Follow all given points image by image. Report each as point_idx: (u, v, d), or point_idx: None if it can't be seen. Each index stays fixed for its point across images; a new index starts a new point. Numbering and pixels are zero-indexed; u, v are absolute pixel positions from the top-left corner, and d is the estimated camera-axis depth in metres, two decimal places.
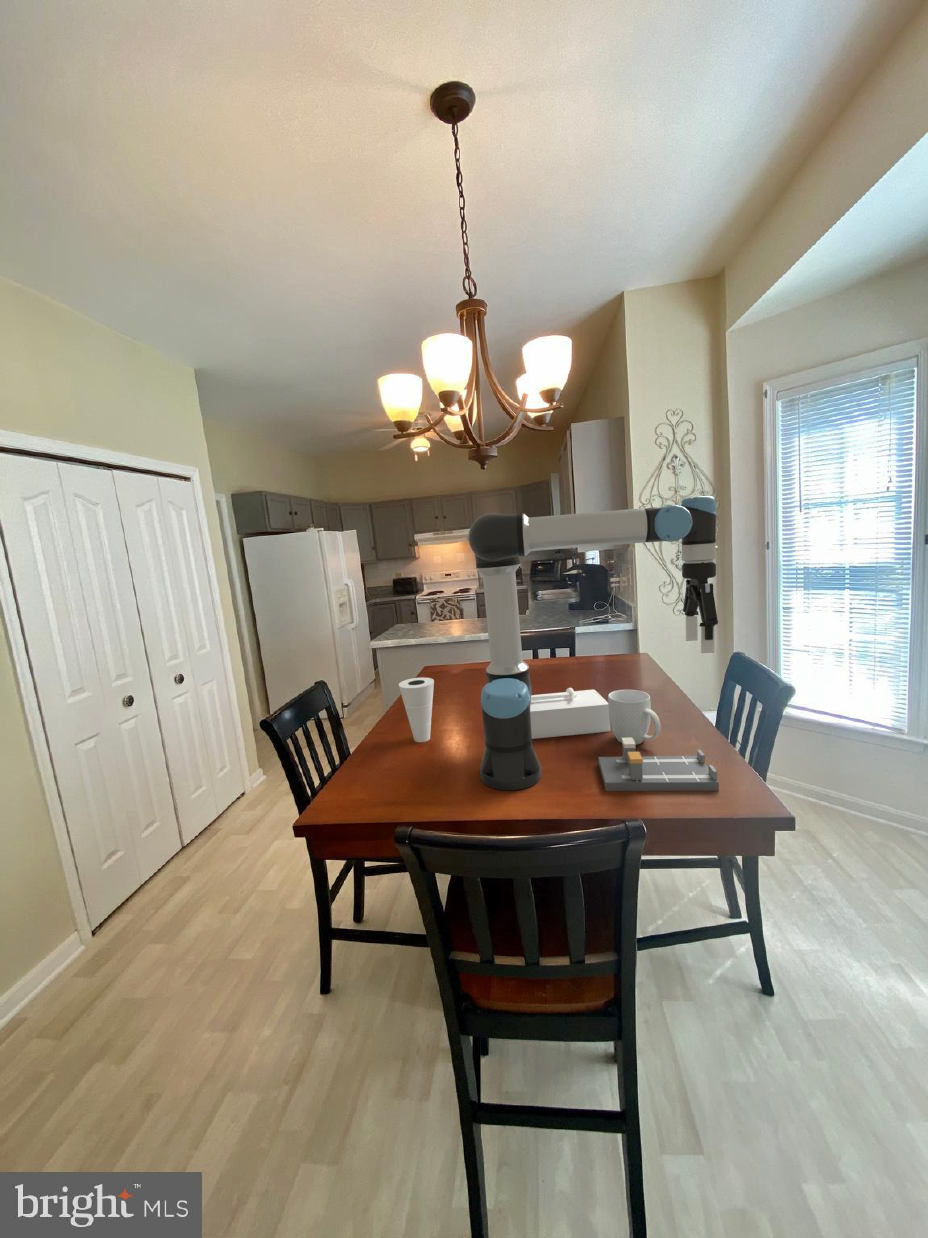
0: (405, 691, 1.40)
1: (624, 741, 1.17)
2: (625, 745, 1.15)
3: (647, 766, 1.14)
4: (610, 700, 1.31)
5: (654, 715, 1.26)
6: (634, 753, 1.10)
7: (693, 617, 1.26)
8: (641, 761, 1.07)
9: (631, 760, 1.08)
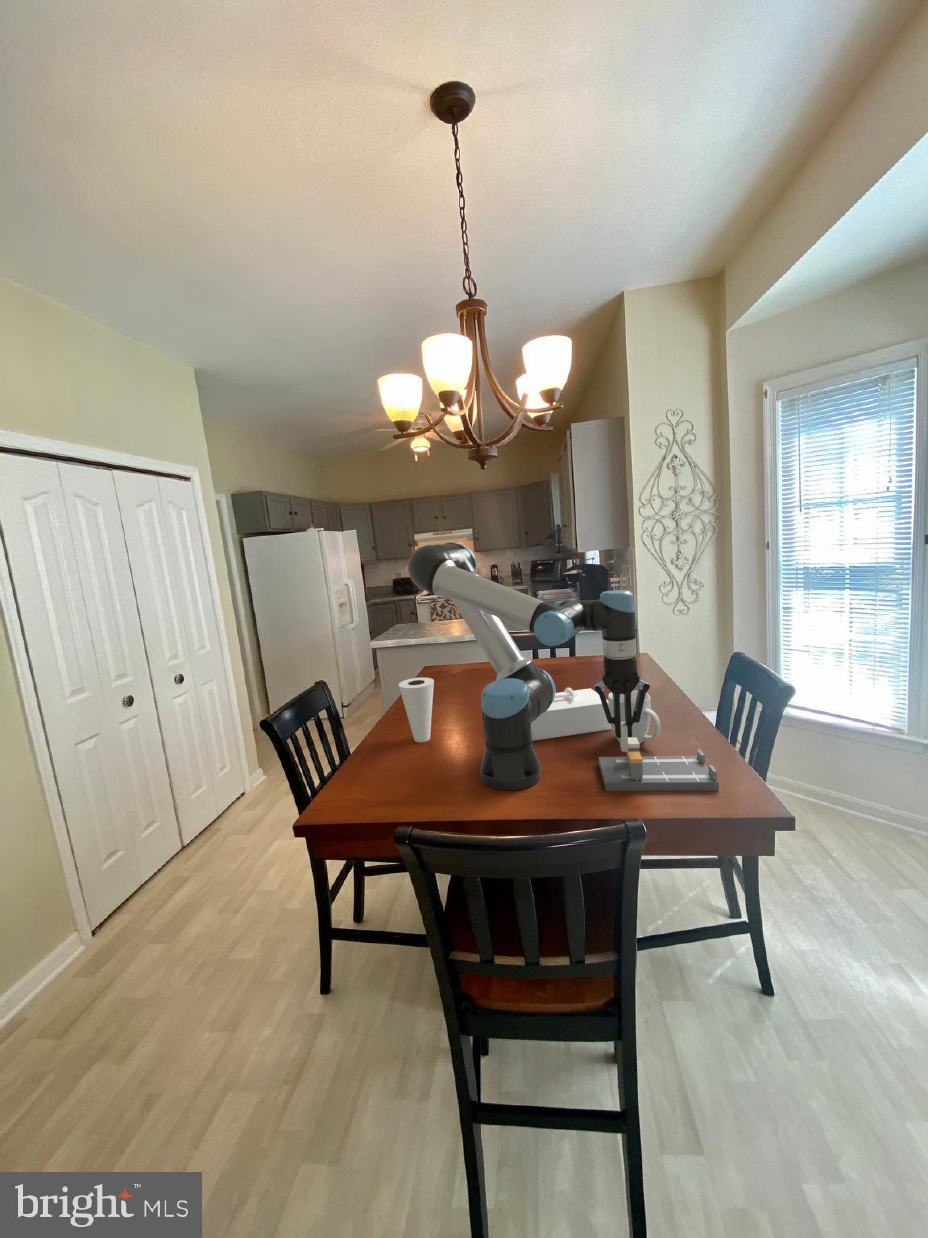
0: (405, 691, 1.40)
1: (628, 741, 1.17)
2: (629, 745, 1.15)
3: (647, 766, 1.14)
4: (610, 700, 1.31)
5: (654, 715, 1.26)
6: (634, 753, 1.10)
7: None
8: (641, 761, 1.07)
9: (631, 760, 1.08)
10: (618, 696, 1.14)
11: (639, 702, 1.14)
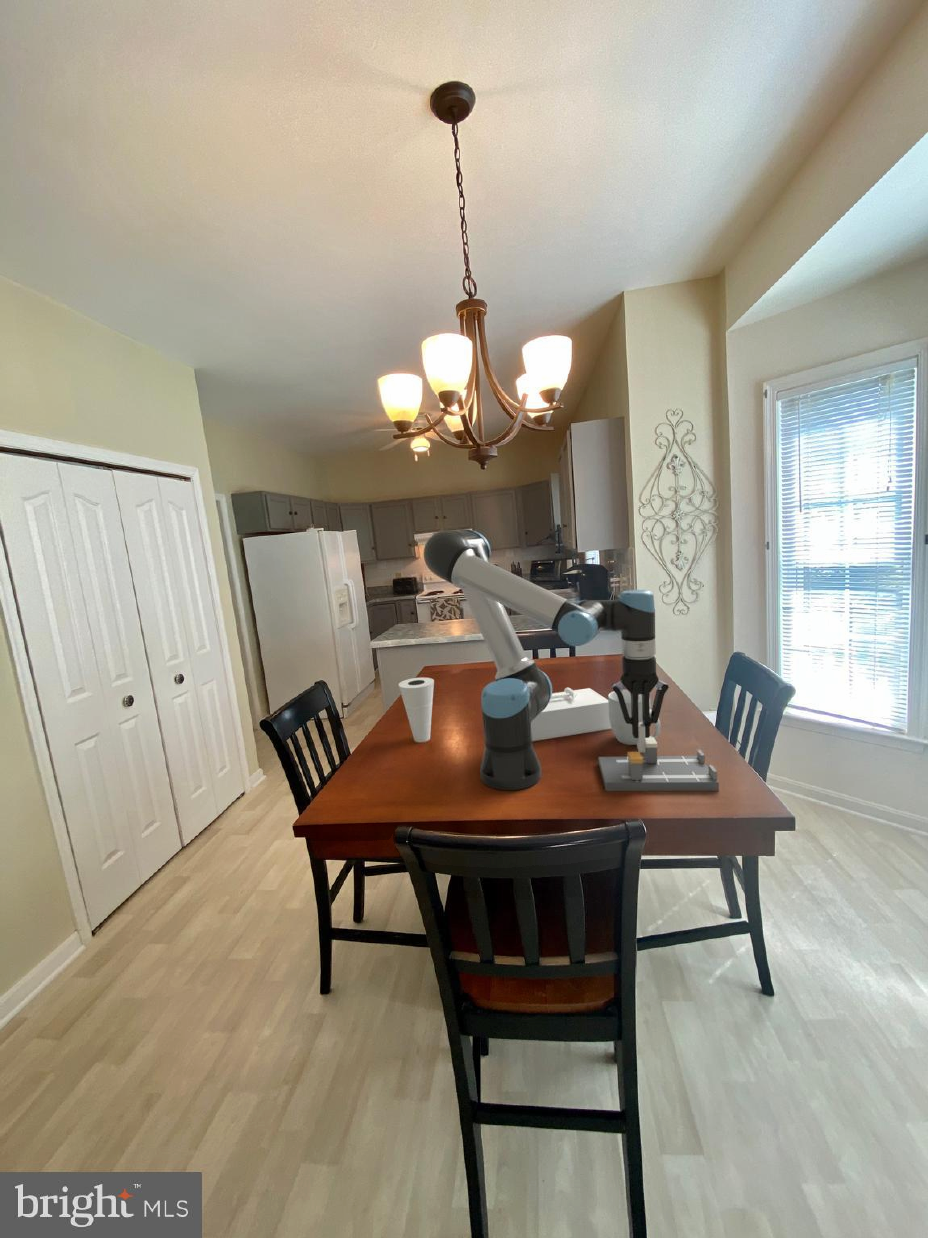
0: (405, 691, 1.40)
1: (646, 741, 1.16)
2: (647, 745, 1.15)
3: (647, 766, 1.14)
4: (610, 700, 1.31)
5: None
6: (634, 753, 1.10)
7: None
8: (641, 761, 1.07)
9: (631, 760, 1.08)
10: (636, 696, 1.13)
11: (657, 702, 1.13)
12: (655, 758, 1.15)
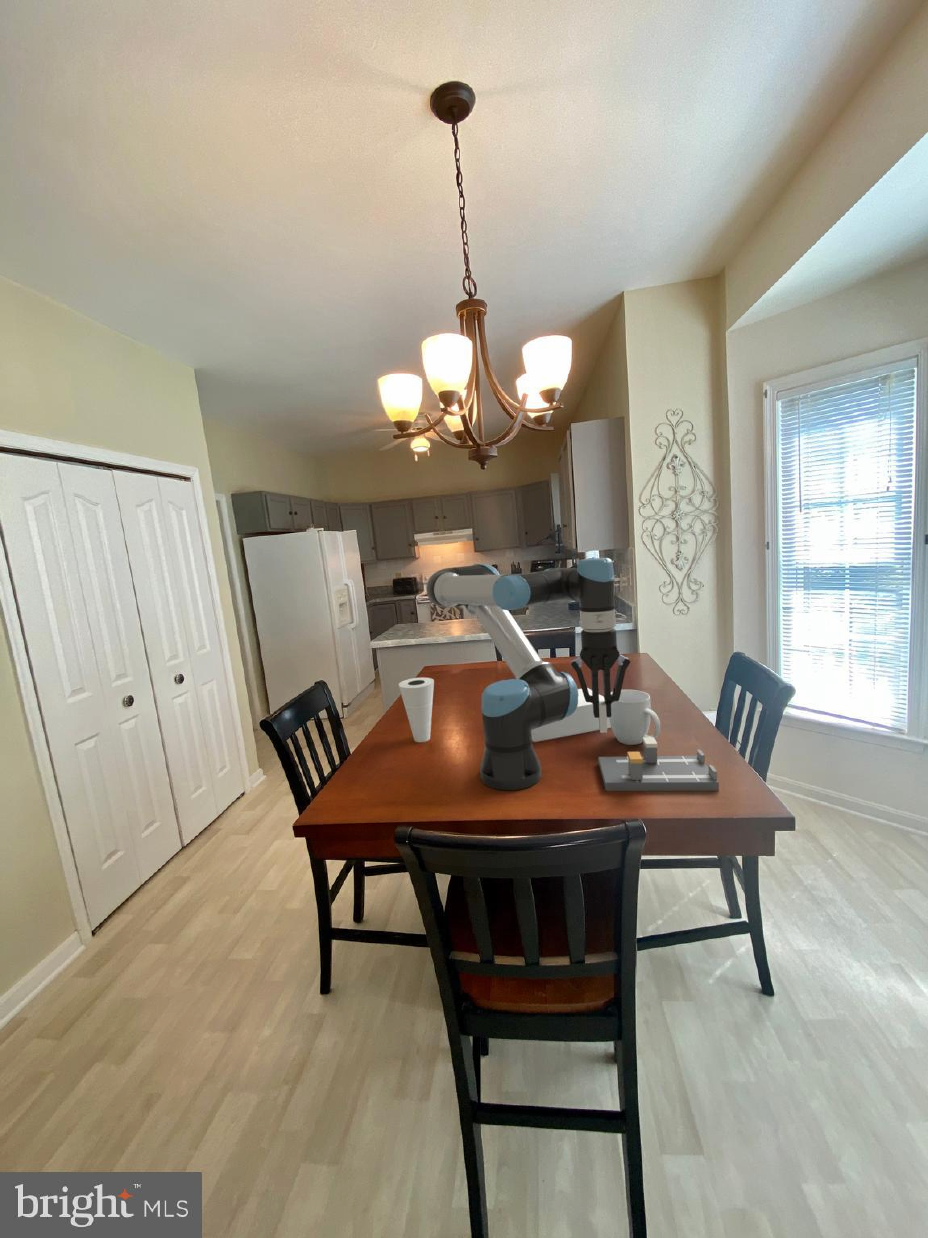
0: (406, 691, 1.40)
1: (646, 741, 1.16)
2: (647, 745, 1.15)
3: (647, 766, 1.14)
4: None
5: (654, 715, 1.26)
6: (634, 753, 1.10)
7: None
8: (641, 761, 1.07)
9: (631, 760, 1.08)
10: (596, 672, 1.06)
11: (619, 679, 1.06)
12: (655, 758, 1.15)
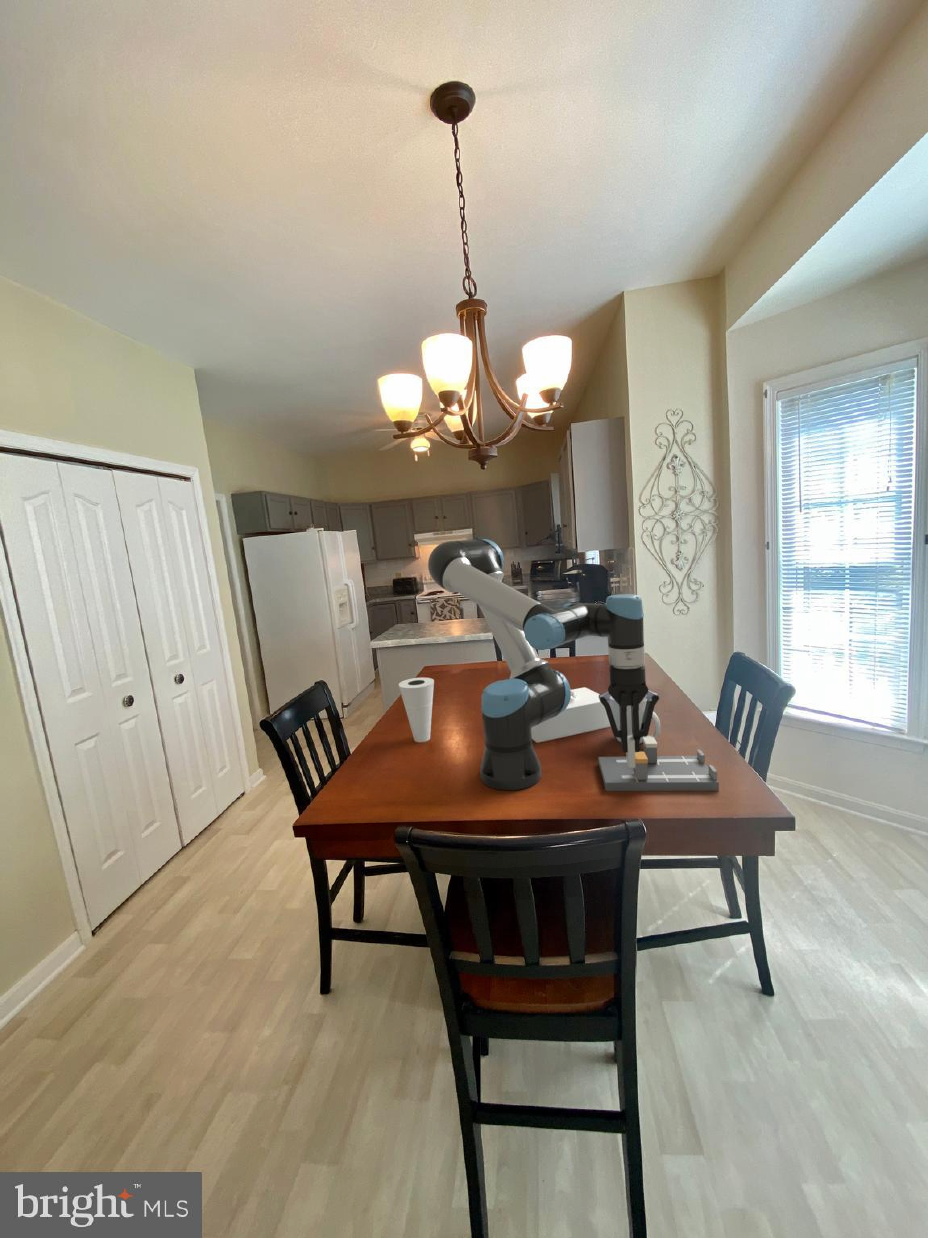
0: (405, 691, 1.40)
1: (646, 741, 1.16)
2: (647, 745, 1.15)
3: (647, 766, 1.14)
4: None
5: (654, 715, 1.26)
6: (639, 753, 1.10)
7: None
8: (646, 761, 1.07)
9: (636, 760, 1.07)
10: (625, 708, 1.06)
11: (647, 714, 1.06)
12: (655, 758, 1.15)
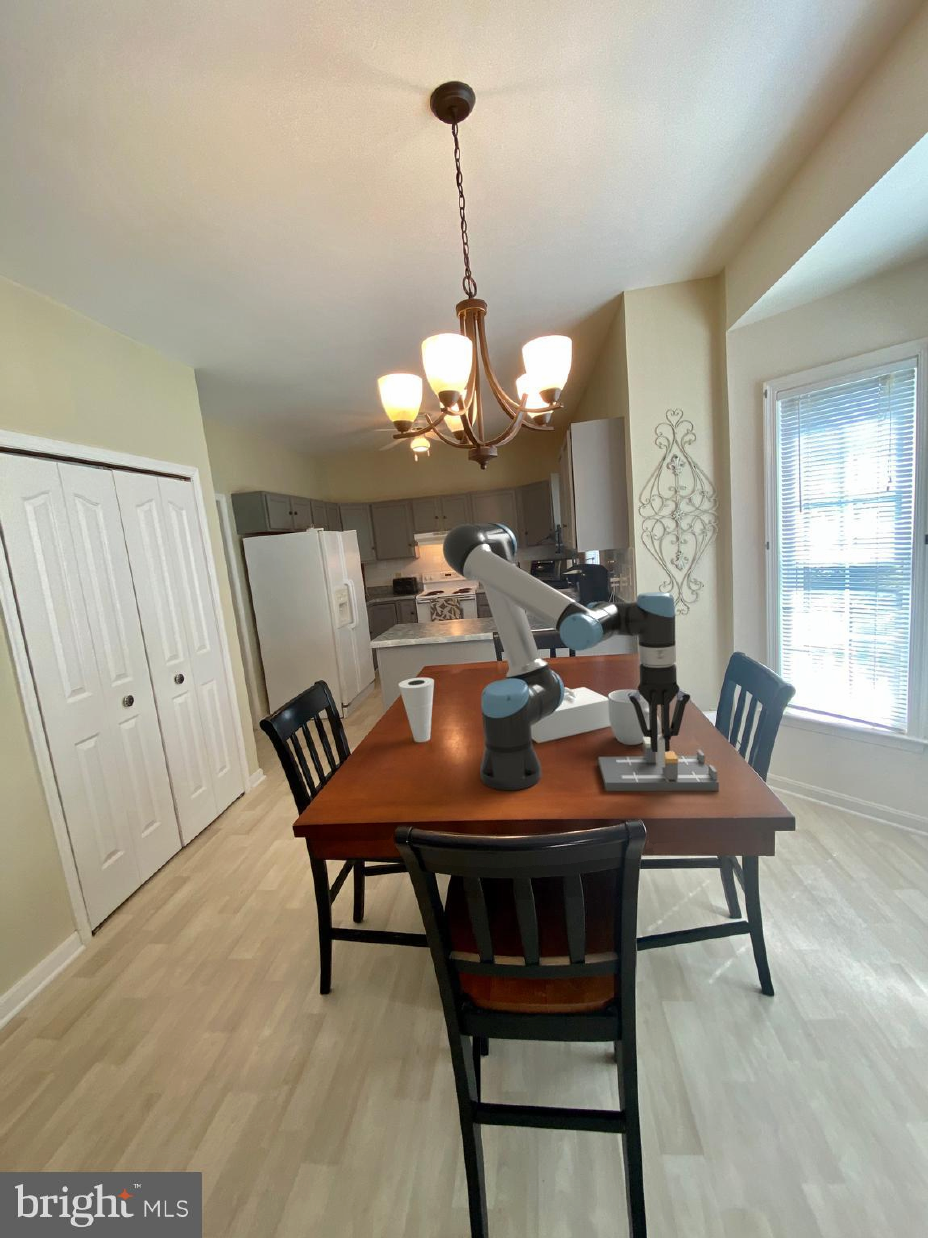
0: (405, 691, 1.40)
1: (646, 741, 1.16)
2: (647, 745, 1.15)
3: (647, 766, 1.14)
4: (610, 700, 1.31)
5: None
6: (668, 753, 1.09)
7: None
8: (676, 761, 1.06)
9: (666, 760, 1.06)
10: (655, 707, 1.05)
11: (678, 714, 1.05)
12: (655, 758, 1.15)
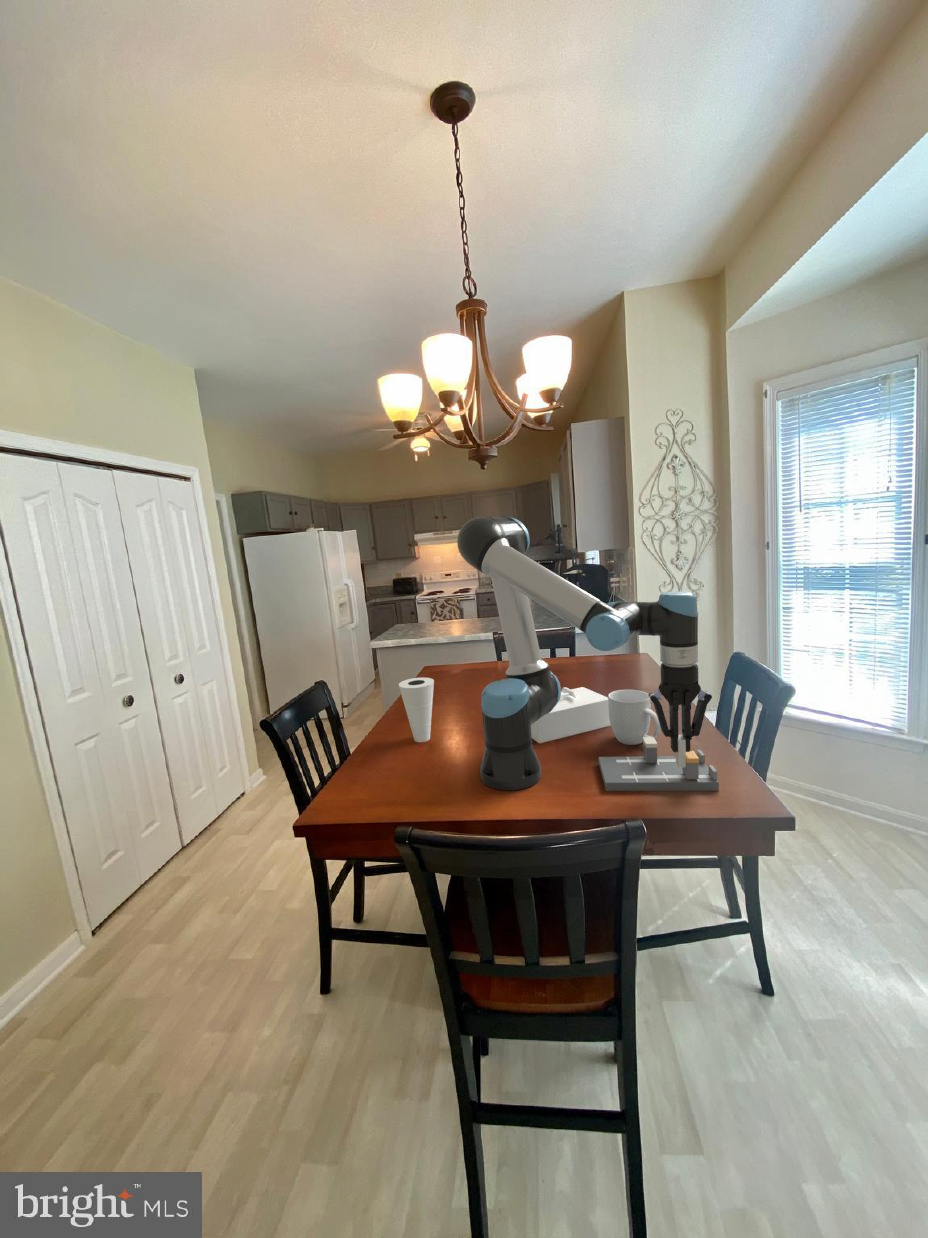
0: (405, 691, 1.40)
1: (646, 741, 1.16)
2: (647, 745, 1.15)
3: (647, 766, 1.14)
4: (610, 700, 1.31)
5: (654, 715, 1.26)
6: (689, 752, 1.08)
7: None
8: (697, 760, 1.05)
9: (687, 759, 1.06)
10: (677, 707, 1.04)
11: (699, 714, 1.04)
12: (655, 758, 1.15)
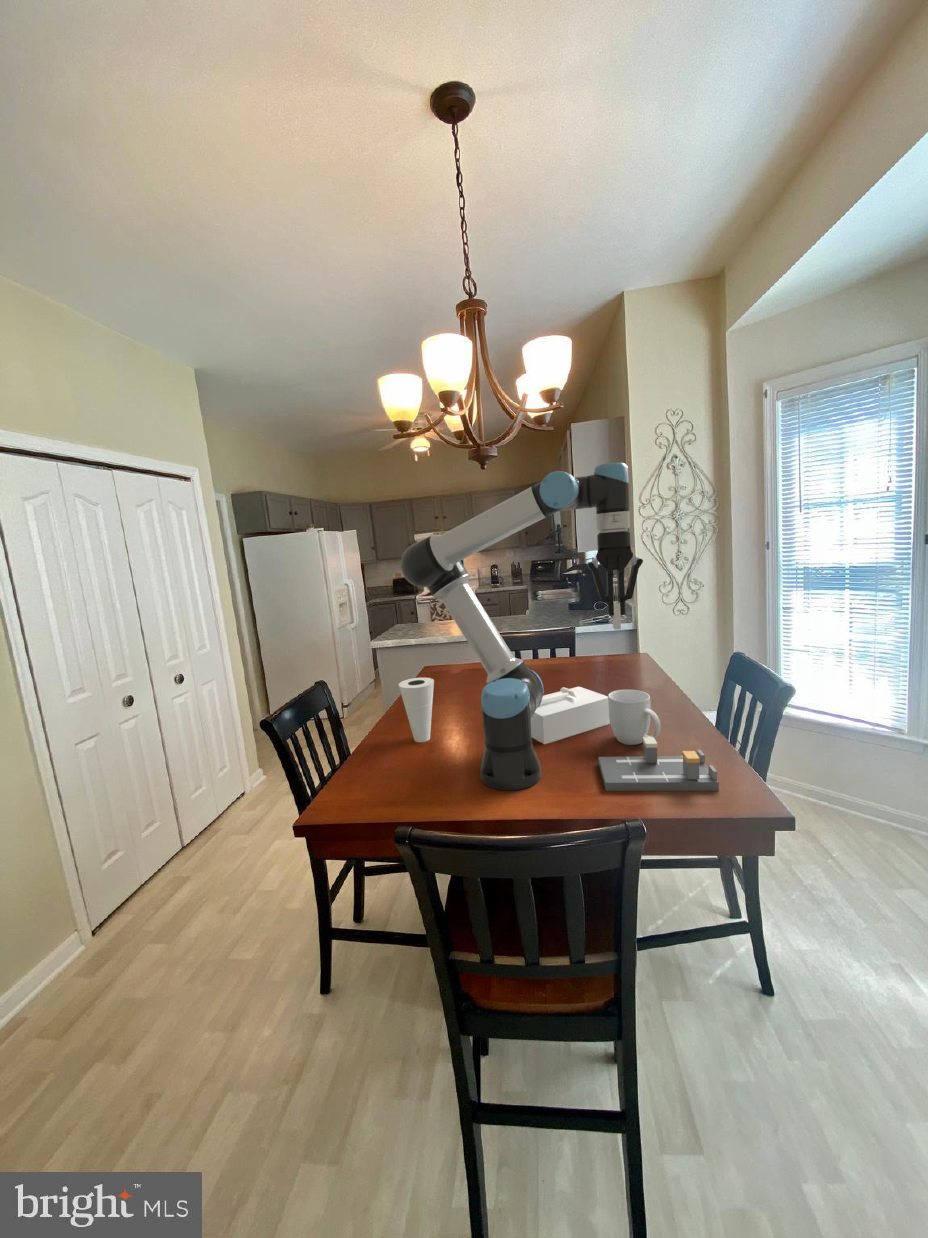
0: (405, 691, 1.40)
1: (646, 741, 1.16)
2: (647, 745, 1.15)
3: (647, 766, 1.14)
4: (610, 700, 1.31)
5: (654, 715, 1.26)
6: (689, 752, 1.08)
7: None
8: (698, 760, 1.05)
9: (688, 759, 1.06)
10: (611, 571, 1.14)
11: (632, 577, 1.14)
12: (655, 758, 1.15)
